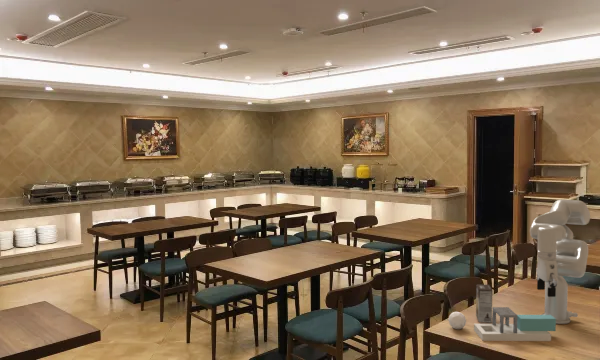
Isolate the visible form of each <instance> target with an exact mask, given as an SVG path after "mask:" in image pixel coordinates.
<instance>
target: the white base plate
mask: <svg viewBox="0 0 600 360" xmlns="http://www.w3.org/2000/svg"><path fill="white" fill-rule="evenodd" d="M473 331H474V332H475V334H476V335H477V336H478V337H479V339H480V340H482V341H484V342H485V341H487V342H488V341H490V342H492V341H493V342H494V341H495V342H496V341H497V342H500V341H501V342H502V341H503V342H505V341H506V342H508V341H509V342H510V341H511V342H551V341H552V334H551V333H550V331H520V330H519V329H518V328H517V333H513V323H509V325H505V323H504V331H503V333H500V323H496V325H492V323H473Z"/></svg>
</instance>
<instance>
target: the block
mask: <svg viewBox="0 0 600 360" xmlns="http://www.w3.org/2000/svg"><path fill="white" fill-rule="evenodd" d="M556 326H557V324H556V319H555V318H554V317H553V316H551V315H542V314H517V328H518V329H519V330H520V331H548V332H556V329H557V328H556Z"/></svg>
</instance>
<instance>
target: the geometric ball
mask: <svg viewBox="0 0 600 360" xmlns="http://www.w3.org/2000/svg"><path fill="white" fill-rule="evenodd" d="M447 320H448V323H449V326H450V327H452V329H454V330H462V329H464V327H465V326H466V322H467V319H466V317H465V315H464V314H463V313H462V312H459V311H454V312H453V311H452V312H451V313H450V314H449V316H448V319H447Z"/></svg>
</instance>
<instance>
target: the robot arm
mask: <svg viewBox="0 0 600 360" xmlns="http://www.w3.org/2000/svg"><path fill="white" fill-rule="evenodd" d="M590 213H591V212H590V210H589V208H588V206H587V204H586V203H585V202H584V201H582V200H578V199H577V200H576V199H558V200H555V202H553V204H552V206H551V208H550V210H549V212H545V213H543V214H540V215H538V216H537V217H535V218H534V219H533V221H532V222H531V225H530V228H529V234H530V237H531V238H532V239H535V240H537V250H536V251H537V252H536V253H537V254H536V255H537V257H536V258H537V265H536V269H535V271H536V281H537V283H536V285H537V286H536V289H537V290H540V291H541V290H543V291H544V313H542V314H541V315H551V316H553V317H554V318H555V319H556V325H566V324H567V325H568V324H569V323H571V317H573V318H576V317H577V318H578V317H579V316H578V315H579V314H578V312H572V311H568V289H569V288H568V287H569V286H568V282H567V281H566V279H565V278H564V277H569V278H582V277H584V276H585V273H586V269H587V265H588V258H589V245H588V243H587V242H586V241H584V240H581V239H574V233H573V230H572V229H570V227H569V226H567V225H566V224H568V225H581V226H585V225H587V224H589V223H590V220H591V214H590Z"/></svg>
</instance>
